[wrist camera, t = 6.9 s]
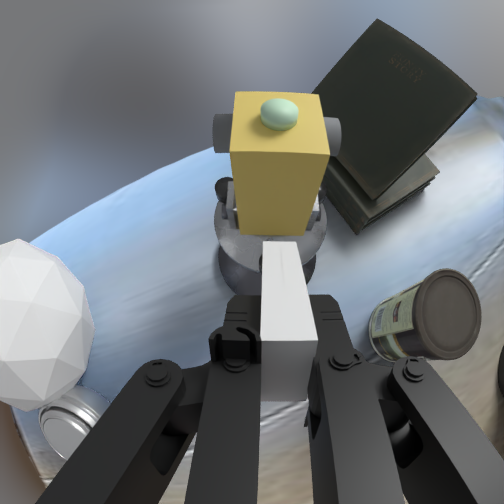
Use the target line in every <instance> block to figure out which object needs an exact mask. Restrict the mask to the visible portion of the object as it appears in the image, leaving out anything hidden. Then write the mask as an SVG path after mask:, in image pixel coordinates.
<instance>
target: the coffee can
mask: <svg viewBox="0 0 504 504" xmlns="http://www.w3.org/2000/svg"><path fill="white" fill-rule="evenodd" d="M480 326H481V306H480V301H479V297H478V295H477V292H476V290H475V288H474V286H473V285H472V283H471V282H470V281H469V280H468V279H467V277H465V276H464V275H463V274H462V273H460V272H458V271H456V270H453V269H447V268H446V269H439V270H437V271H434V272H433V273H431V274H430V275H429V276H427V277H426V278H425V279H423V280H421V281H420V282H418V283H416V284H414V285H412V286H411V287H409V288H407V289H405V290H403V291H401V292H400V293H398V294H396V295H394V296H392V297H389V298H387V299H385V300H383V301H382V302H381V303H379V304H378V305H377V307H376V308H375V309H374V311H373V313H372V315H371V318H370V322H369V338H370V341H371V344H372V346H373V348H374V350H375V351H376V353H377V354H378V355H379V356H380V357H382V358H383V359H385V360H387V361H390V362H396V361H397V360H399V359H400V358H402V357H407V356H413V357H418V358H420V359H423V360H425V361H426V360H454V359H457V358H460V357H462V356H463V355H465V354H466V353H467V352H468V351H469V350H470V349H471V348H472V346H473V345H474V343H475V341H476V339H477V337H478V334H479V331H480Z"/></svg>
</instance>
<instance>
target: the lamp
mask: <svg viewBox="0 0 504 504" xmlns="http://www.w3.org/2000/svg"><path fill="white" fill-rule="evenodd" d="M95 331H96V330H95V326H94V323H93V320H92V316H91V313H90V309H89V305H88V301H87V298H86V294H85V290H84V286H83V285H82V284H81V283H80V282H79V280H78V279H77V278H76V277H75V276H74V275H73V274H72V273H71V272H70V270H69V269H68V268H67V267H66V266H65V265H64V263H63V262H62V261H61V260H60V259H59V258H58V257H57V256H55V255H53V254H50V253H48V252H46V251H44V250H42V249H40V248H37V247H35V246H33V245H31V244H29V243H27V242H25V241H23V240H21V239H16V240H13V241H10V242H8V243H5V244H2V245H0V401H3V402H5V403H7V404H9V405H11V406H13V407H16V408H18V409H20V410H23V411H25V412H28V411H32V410H35V409H39V408H40V410H39V424H40V428H41V430H42V432H43V434H44V436H45V438H46V440H47V442H48V443H49V445H50V446H51V447H52V448H53V449H54V450H55V451H56V452H57V453H58V454H59V455H60V456H61V457H63V458H64V459H66V460H68V459H69V458H70V456H71V455H72V454H73V452H74V451H75V450H76V448H77V447H78V446H79V444H80V443H81V442H82V441H83V439H84V438H85V437H86V435H87V434H88V433H89V431H90V430H91V429H92V428H93V426H94V425H95V424H96V422H97V421H98V420H99V418H100V417H101V416H102V415H103V413H104V412H105V411H106V409H107V408H108V407H109V406H110V403H109V402H108V400H106V399H105V398H104V397H103V396H102V395H101V394H99V393H98V392H96V391H94V390H92V389H90V388H87V387H84V386H79V385H76V383H77V382H78V381H79V379H80V378H81V376H82V375H83V374H84V372H85V371H86V369H87V365H88V360H89V356H90V351H91V347H92V343H93V339H94V335H95Z"/></svg>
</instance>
